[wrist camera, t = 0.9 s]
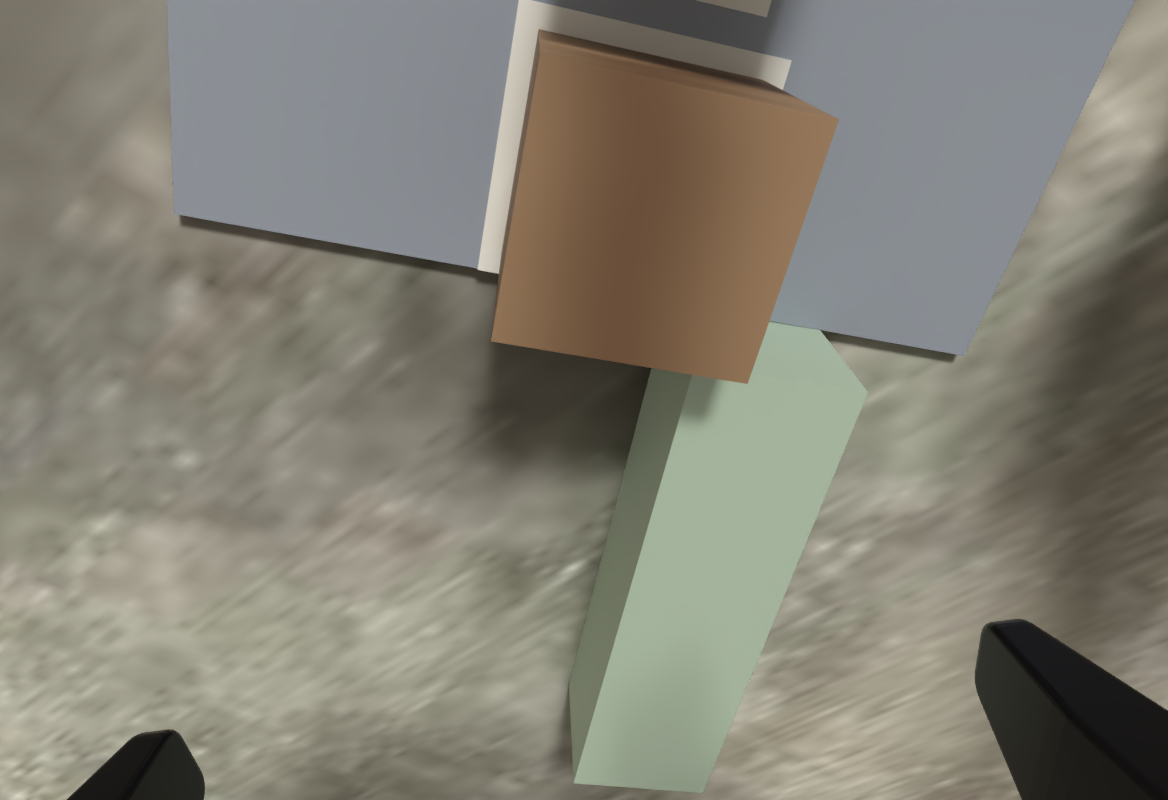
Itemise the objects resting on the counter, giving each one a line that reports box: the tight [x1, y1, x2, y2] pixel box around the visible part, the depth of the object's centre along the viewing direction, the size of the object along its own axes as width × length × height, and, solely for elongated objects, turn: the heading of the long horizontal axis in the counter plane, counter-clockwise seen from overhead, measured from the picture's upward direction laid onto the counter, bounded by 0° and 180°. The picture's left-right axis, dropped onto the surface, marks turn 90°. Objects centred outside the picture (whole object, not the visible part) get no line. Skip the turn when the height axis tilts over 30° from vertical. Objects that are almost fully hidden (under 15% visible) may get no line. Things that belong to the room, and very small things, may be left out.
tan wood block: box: [491, 29, 839, 384], centre depth 16 cm, size 5×5×5 cm
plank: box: [569, 321, 868, 793], centre depth 22 cm, size 4×14×4 cm, turn 169°
